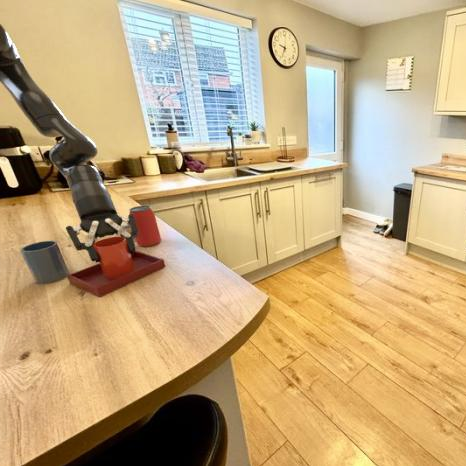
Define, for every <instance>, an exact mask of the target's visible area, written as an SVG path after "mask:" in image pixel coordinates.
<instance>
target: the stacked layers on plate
mask: <svg viewBox="0 0 466 466" xmlns="http://www.w3.org/2000/svg"><path fill="white" fill-rule="evenodd" d="M121 227H122V228H123V229H124V230H125V231H127V232H128V233H130V232H132V231H131V227H130V225H127V224H126V223H125V222H122V224H121ZM116 237H119V236H118V235H116ZM133 242H134V243H135V242H137V241H136V238H133Z"/></svg>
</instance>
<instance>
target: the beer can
mask: <svg viewBox="0 0 466 466" xmlns="http://www.w3.org/2000/svg"><path fill="white" fill-rule="evenodd" d="M128 211H129V214H128V215H130V214H132V215H134V219H135V222H136V226H137V229H138V237H135V238H136V241H135V242H136V244H137V246H139V247H151V246H155V245H158V244H159V243H160V242H161V241H162V236H161V234H160V230H159V226H158V223H157V222H158V221H157V218H156V214H155V212H154V210H153V209H152V207H151V206H150V205H138V206H134V207H131V208H129V209H128Z"/></svg>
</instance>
